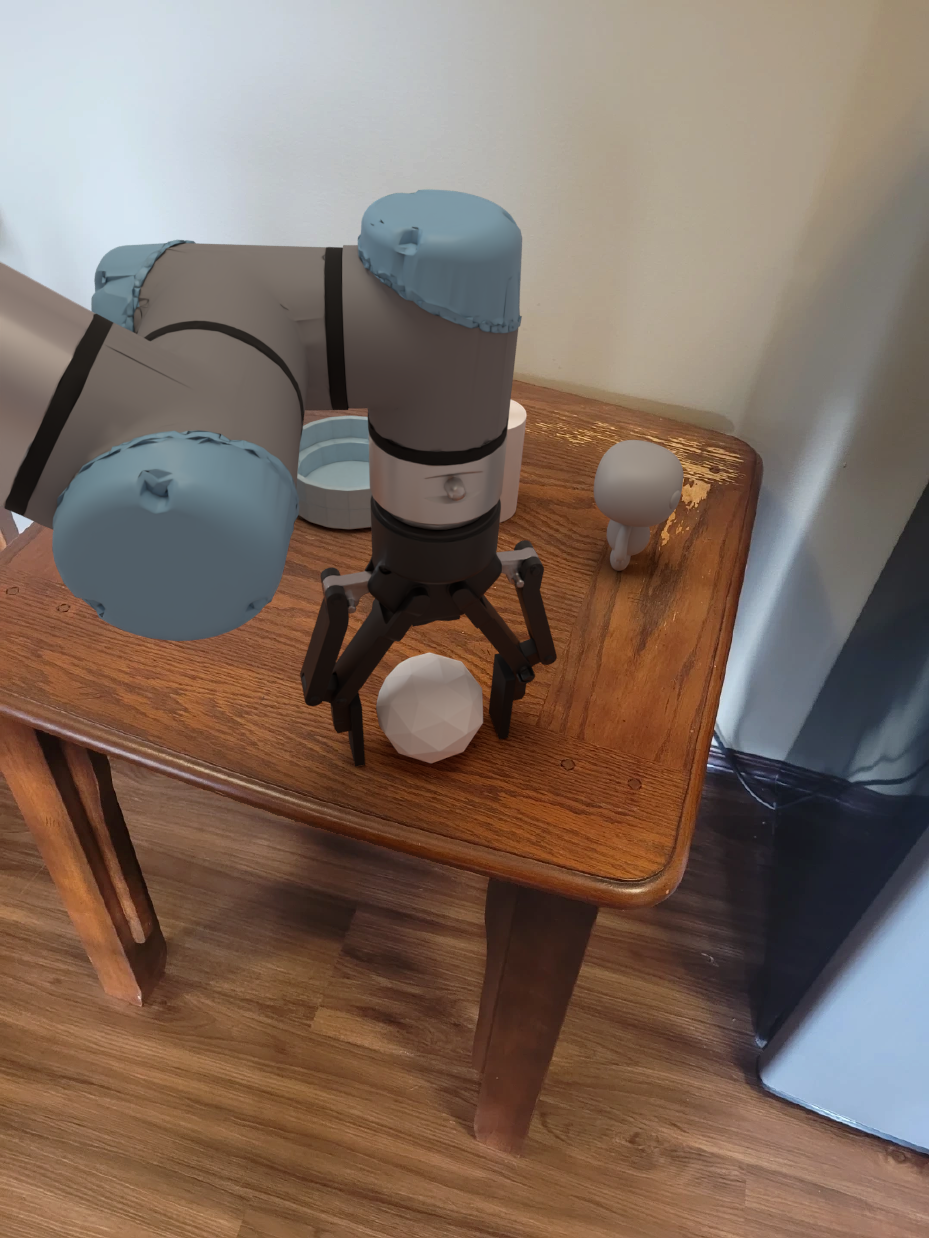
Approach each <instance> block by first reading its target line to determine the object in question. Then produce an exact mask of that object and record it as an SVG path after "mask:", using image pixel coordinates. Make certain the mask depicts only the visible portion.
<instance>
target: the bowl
mask: <svg viewBox="0 0 929 1238" xmlns="http://www.w3.org/2000/svg"><path fill="white" fill-rule="evenodd" d="M296 490H297V493H298V497H299V515H298V517H301V518H302V519H304V520H306V521H307V522H309V523H313V524H316V525H318V526H323V527H326V528H329V529H330V528H331V529H339V530H340V529H342V530H355V529H356V530H357V529H364V528H371V504H370V501H371V496H372V493H371V490H370V479H369V434H368V416H362V415H339V416H329V417H325V418H321V419H317V420H313V421H310V422H308V423H306V424H303V430H302V436H301V441H300V450H299V462H298V475H297V487H296Z"/></svg>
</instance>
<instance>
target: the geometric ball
mask: <svg viewBox="0 0 929 1238" xmlns="http://www.w3.org/2000/svg"><path fill="white" fill-rule="evenodd" d="M483 705H484V704H483V687H482V686H481V685H480V683H479V682H478V680H476V678H475V677H474V676H473V674H472V673H471V672H470V670H469V669H468V668H467V666H466V665H465V664H464V662H463V661H461V660H458V659H454V658H451V657H447V656H444V655H440V654H437V653H433V652H431V651H430V652H426V653H423V654H418V655H415V656H412V657H409V658H407V659H404V660H403V661H401V662H399V663H398V664H396V666H395V667H394V668H393V669H392V670H391V672H390V673H388V675H386V677H385V679H384V681H383V683H382V685H381V687H380V689H379V691H378V695H377V700H376V703H375V711H376V716H377V721H378V726H379V728H380V729H381V731H382V732H383V734H384V735H385V736H386V738H387V739H388V741H389V742H390V744H391V745H392V746H393V748H394V750H396V752H397V753H398V754H400V755H403V756H405V757H409V758H413V759H415V760H419V761H422V762H424V763H425V762H426V763H428V764H433V763H436V762H439V761H442V760H444V759H446V758H450V757H453V756H456V755H458V754H461V753H463V752H465V750H466V749H467V747H468V746H469V744H470V742H471V741H472V740H473V738H474V737H475V735H476V734H477V733H478V731H479V729H480V728H481V727H482V725H483V724H484V706H483Z"/></svg>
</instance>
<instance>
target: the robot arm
mask: <svg viewBox="0 0 929 1238" xmlns="http://www.w3.org/2000/svg"><path fill="white" fill-rule="evenodd" d="M522 256H523V236H522V231H521V228H520V227H519V226H518V224H517V222H516V221H515V220H514V218H513V216H512V214H511V213H510V212H508V211H507V210H506V208H505V209H504V208H503V207H502V206H501V205H499V204H497V203H496V202H494V201H492V200H489V199H488V198H484V197H482V196H478V195H475V194H473V193H472V194H471V193H468V192H464V191H463V192H462V191H457V190H447V189H433V188H432V189H430V188H429V189H428V188H427V189H418V190H417V191H415V192H394V193H391V194H387V195H385V196H382V197H380V198H378V199H376V200H375V201H373V202H372V203H371V204H370V205H369V206H368V207H367V208H366V209H365V210H364V212H363V215H362V218H361V225H360V234H358V236H357V244H343V245H342V246H341V247H339V246H300V245H299V246H295V245H264V244H263V245H262V244H260V245H259V244H232V243H231V244H229V243H227V244H226V243H197V242H195V241H194V240H189V239H186V240H185V239H174V240H170V241H167V242H162V243H160V242H159V243H145V244H143V243H142V244H126V245H121V246H120V245H119V246H117V247H114V248H112V249H110V250H109V251H107V252H106V253H105V254H104V255H103V257H101V259H100V261H99V262H98V265H97V266H96V269H95V273H94V278H93V279H94V280H93V282H94V293H93V294H92V296H91V301H90V306H91V307H90V309H88V308H86V307H84V306H83V305H81V304H79V303H77V302H75V301H74V300H72V299H70V298H68V297H66V296H65V295H63V294H61V293H59V292H57V291H55V290H54V289H52V288H50V287H48V286H46V285H45V284H43V283H41V282H39V281H37V280H35V279H34V278H31V277H30V276H28V275H26V274H25V273H22V272H21V271H19V270H17V269H15V268H14V267H12V266H9V265H8V264H6V263H4V262H2V261H0V508H3V509H4V510H7V511H9V512H11V513H14V514H17V515H18V516H21V517H23V518H26V519H27V520H30V521H32V522H34V523H37V524H38V525H40V526H43V527H45V528H48V529H49V530H53V531H52V539H51V540H52V541H51V543H52V545H51V550H52V555H53V561H54V564H55V567H56V570H57V572H58V574H59V576H60V578H61V580H62V582H63V584H64V585H65V586H66V588H67V589H68V590H69V591H70V592H71V594H72V595H73V597H74V598H77V599H81V600H82V601H83V602H84V603H86V605H88V606H89V607H90V608H92V609H93V610H94V611H95V612H96V614H97V616H98V618H99V619H100V620H102V621H103V622H105V623H107V624H109V625H110V626H113V627H115V628H117V629H120V630H121V631H123V632H126V633H129V634H133V635H135V636H139V637H143V638H147V639H153V640H163V641H170V642H172V641H173V642H190V641H199V640H205V639H210V638H215V637H219V636H221V635H225V634H227V633H230V632H232V631H234V630H236V629H238V628H240V627H242V626H243V625H245V624H246V623H248V622H249V621H251V620H252V619H254V618H255V617H256V616H257V615H259V614H260V613H261V611H262V610H263V608H264V607H266V606H267V605H269V604H270V603H272V601H273V598H274V597H275V594H276V592H277V590H278V589H279V585H280V583H281V581H282V578H283V575H284V569H285V565H286V562H287V556H288V553H289V546H290V542H291V538H292V535H293V533H294V530H295V528H294V527H295V522H296V520H297V519H298V517H299V497H298V493H297V490H296V487H297V475H298V462H299V450H300V441H301V436H302V430H303V426H304V423H305V422H304V421H305V420H304V419H305V412H306V411H349V410H350V409H352V410H353V409H356V410H357V409H359V410H360V409H367V417H368V434H369V479H370V490H371V493H372V496H371V501H370V504H371V527H370V530H371V531H370V532H371V557H370V559H369V561H368V563H367V564H366V566H365V569H364V571H359V572H354V573H353V572H352V573H347V574H341V571H340V570H339V569H338V568H336V567H332V566H331V567H326V568H324V569H323V570H322V571H321V573H320V583H321V588H322V596H323V598H322V600H321V604H320V607H319V611H318V613H317V617H316V621H315V623H314V627H313V631H312V634H311V636H310V640H309V643H308V645H307V646H308V647H307V650H306V654H305V656H304V659H303V663H302V667H301V670H300V674H299V677H300V683H301V688H302V694H303V698H304V703H305V705H306V706H308V707H317V706H319V705H321V704H322V703H323V702H324V703H327V704H330V705H329V706H330V715H331V719H332V725H333V729H334V731H335V732H336V733H337V734H342V733H347V738H348V743H349V748H350V752H351V755H352V756H351V757H352V760H353V766H354V768H357V767H363V766H366V755H365V734H364V719H363V718H364V717H363V704H362V701H361V697H360V693H359V691H360V690H361V688H363V686H364V685H365V683H366V682H367V680H368V679H369V677H370V676H371V675H372V674H373V672H374V670H376V668H377V667H378V665H379V664H380V662H381V661H382V660H383V658H384V657H385V656H386V654H387V652H388V651H389V650H390V648H391V647H392V646H393V644H394V643H395V642H401V641H402V640H403V638H404V637H405V635H406V634H407V633H408V631H409V630H410V629H411V627H413V628H415V627H421V626H426V625H428V624H431V623H434V622H452V621H458V620H460V619H461V616H462V615H464V616H466V618H467V619H468V620H469V621H470V623H472V625H473V626H474V627H475V628H476V629H477V630H479V631H480V632H481V633H482V634H483V635H484V637H485V638H486V639H487V640H488V642H489V643H490V644H491V645H492V646H493V648H494V649H495V650H496V651H497V653H494V656H493V657H494V658H493V666H492V675H491V686H490V695H489V703H488V704H489V705H488V714H489V717H490V720H491V722H492V723H491V724H492V725H493V728H494V730H495V733H496V735H497V738H498V740H503V739H508V738H510V737H509V736H510V729H511V721H512V713H513V705H514V701H515V702H516V701H520V700H523V698H524V697H525V695H526V691H527V690H526V689H527V684H529V683H531V682H533V681H534V680H535V679H536V674H535V671H534V669H533V667H534V666H536V665H538V664H542V666H550V665H552V664H554V663H555V662H556V661H557V659H558V655H557V652H556V648H555V644H554V640H553V635H552V632H551V628H550V623H549V619H548V616H547V613H546V609H545V604H544V601H543V596H542V592H541V587H542V583H543V577H544V572H545V566H544V565H543V563H542V561H541V559H540V557H539V555H538V553H537V551H536V549H535V547H534V546H533V544H532V542H531V541H530V540H528V539H527V540H526V539H523V540H520V541H518V542H517V543H516V544H515V545H514V548H513V550H506V551H497V550H498V544H499V543H498V542H499V532H500V524H501V522H500V513H501V502H500V496H501V494H502V487H503V477H504V466H505V456H506V445H507V430H508V419H509V410H510V401H511V400H512V391H513V381H514V373H515V363H516V355H517V345H518V338H519V337H518V335H519V327H521V323H522V319H523V318H522V317H523V316H522V315H521V310H520V307H521V306H520V305H521V302H520V301H521V279H522V278H521V277H522V259H523V257H522ZM501 574H504V575H505V577H506V579H507V581H508V582H509V583H510V584H511V585H514V588H515V593H516V595H517V599H518V603H519V606H520V609H521V613H522V616H523V621H524V624H525V627H526V630H527V634H528V637H529V638H528V639H525V640H523V641H520V639H519V638H518V637H517V636H516V634H515V633H514V632H513V630H512V629H511V627H510V626H509V625H508V624H507V623H506V621H505V620H504V619H503V617H502V616H501V614H499V612H498V611H497V610H496V608H495V607H494V605H493V604H492V603H491V601H489V599H488V598H487V597H486V595H485V594H486V593H487V592H488V590H489V589H490V588H491V587H492V586H493V585H494V584H495V583H496V582H497V580H499V578H500V576H501ZM366 594H370V595H371V596H372V597H373V598H374V599H373V601H372V605H371V610H370V611H369V614H368V615H367V616H366V618H365V620H364V621H363V623H362V624H361V625H360V627H359V628H358V630H357V631H356V632H355V634H354V635H353V636H352V639H351V640H350V642H349V643H348V644H347V645H346V647H345V649H344V650H343V652H342V653H341V654H340V652H341V649H342V645H343V643H344V640H345V637H346V633H347V631H348V627H349V621H350V615H352V614H354V613H356V612H357V607H358V605H359V604H360V601H361V598H362V597H363V596H364V595H366ZM339 654H340V656H339Z"/></svg>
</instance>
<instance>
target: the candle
mask: <svg viewBox="0 0 929 1238" xmlns="http://www.w3.org/2000/svg"><path fill="white" fill-rule="evenodd" d="M526 423H527V411H526V409H525V407H524V406H523V405H521V403H519V402H517V401H515V400H513V399H511V401H510V410H509V419H508V430H507V445H506V456H505V466H504V477H503V487H502V494H501V496H500V502H501V513H500V523H502V522H505V521H508V520H509V519H511V518H512V517H513V516H514V515H515V514H516V510H517V506H518V505H517V504H518V498H519V497H518V496H519V488H520V487H519V486H520V479H521V469H522V461H523V451H524V442H525V435H526V434H525V433H526V425H527V424H526Z"/></svg>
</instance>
